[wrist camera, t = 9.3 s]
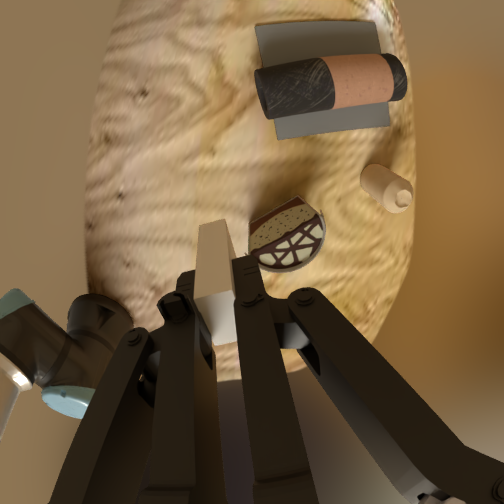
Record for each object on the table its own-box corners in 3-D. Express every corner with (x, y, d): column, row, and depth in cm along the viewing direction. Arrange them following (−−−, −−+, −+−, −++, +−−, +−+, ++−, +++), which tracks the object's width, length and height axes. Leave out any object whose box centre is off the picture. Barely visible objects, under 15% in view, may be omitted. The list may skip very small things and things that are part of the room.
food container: (259, 254, 52) (267, 290, 43) (240, 228, 49) (245, 260, 40) (321, 219, 49) (342, 248, 41) (306, 190, 46) (325, 215, 38)
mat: (277, 139, 42) (278, 140, 41) (254, 27, 32) (255, 26, 32) (388, 125, 41) (390, 126, 41) (373, 23, 32) (374, 22, 31)
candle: (360, 196, 47) (387, 220, 39) (358, 165, 45) (387, 184, 36) (387, 190, 47) (417, 213, 39) (386, 161, 44) (419, 179, 36)
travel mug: (272, 132, 35) (403, 111, 35) (264, 83, 29) (411, 67, 28) (259, 103, 39) (378, 85, 38) (250, 59, 32) (381, 45, 32)
